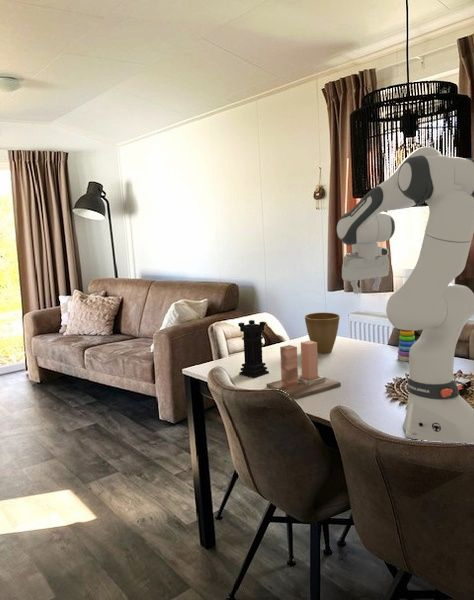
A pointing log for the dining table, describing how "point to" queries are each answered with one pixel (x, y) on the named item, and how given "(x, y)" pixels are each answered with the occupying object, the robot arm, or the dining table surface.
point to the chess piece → (252, 349)
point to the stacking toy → (405, 344)
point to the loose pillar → (309, 360)
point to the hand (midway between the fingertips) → (366, 291)
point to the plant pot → (322, 330)
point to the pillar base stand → (298, 377)
